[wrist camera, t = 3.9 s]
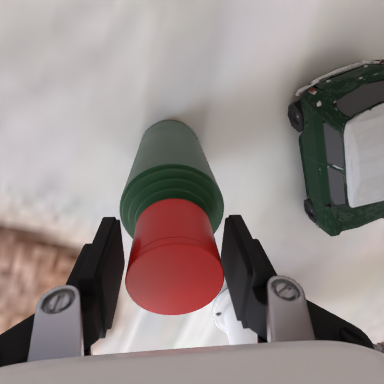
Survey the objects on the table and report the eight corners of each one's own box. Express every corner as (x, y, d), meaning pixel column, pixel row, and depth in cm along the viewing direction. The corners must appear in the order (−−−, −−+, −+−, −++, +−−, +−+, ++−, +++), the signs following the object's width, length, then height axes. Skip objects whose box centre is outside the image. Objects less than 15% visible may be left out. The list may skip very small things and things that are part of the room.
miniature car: (306, 222, 33) (344, 265, 26) (282, 86, 25) (329, 93, 17) (371, 199, 32) (430, 236, 25) (370, 51, 24) (457, 44, 17)
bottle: (200, 120, 25) (258, 209, 9) (197, 176, 28) (238, 317, 12) (138, 119, 25) (87, 211, 9) (142, 176, 28) (108, 326, 12)
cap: (214, 197, 13) (230, 241, 9) (209, 258, 14) (221, 312, 11) (132, 198, 12) (120, 244, 9) (137, 261, 14) (129, 318, 11)
